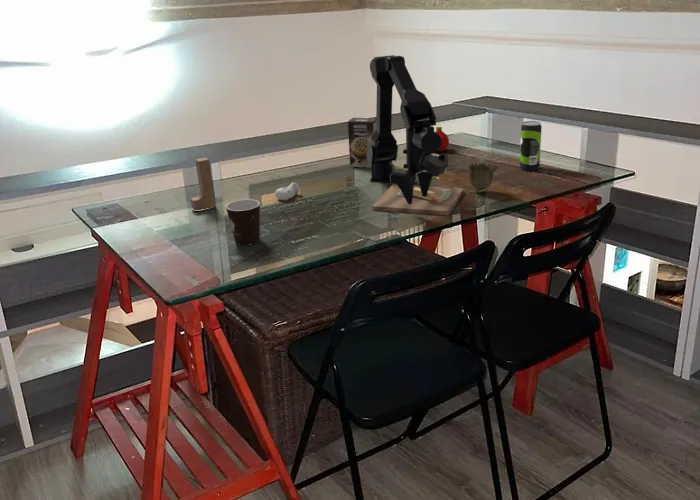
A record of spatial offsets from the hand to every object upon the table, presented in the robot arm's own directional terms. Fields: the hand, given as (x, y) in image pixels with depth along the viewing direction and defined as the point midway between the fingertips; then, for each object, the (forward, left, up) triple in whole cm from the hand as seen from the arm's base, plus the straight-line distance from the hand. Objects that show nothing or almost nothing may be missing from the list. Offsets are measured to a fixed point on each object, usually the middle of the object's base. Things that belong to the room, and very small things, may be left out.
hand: (417, 200), depth 188 cm
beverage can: (+26, +44, -3) cm, 51 cm away
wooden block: (-62, -12, -3) cm, 64 cm away
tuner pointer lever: (-1, +7, -1) cm, 7 cm away
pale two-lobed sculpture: (-41, +2, -3) cm, 41 cm away
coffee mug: (-36, -33, -3) cm, 49 cm away
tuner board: (-1, +7, -3) cm, 8 cm away
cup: (+15, +18, -3) cm, 23 cm away
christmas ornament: (-8, +61, -3) cm, 62 cm away
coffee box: (-29, +39, -3) cm, 49 cm away
